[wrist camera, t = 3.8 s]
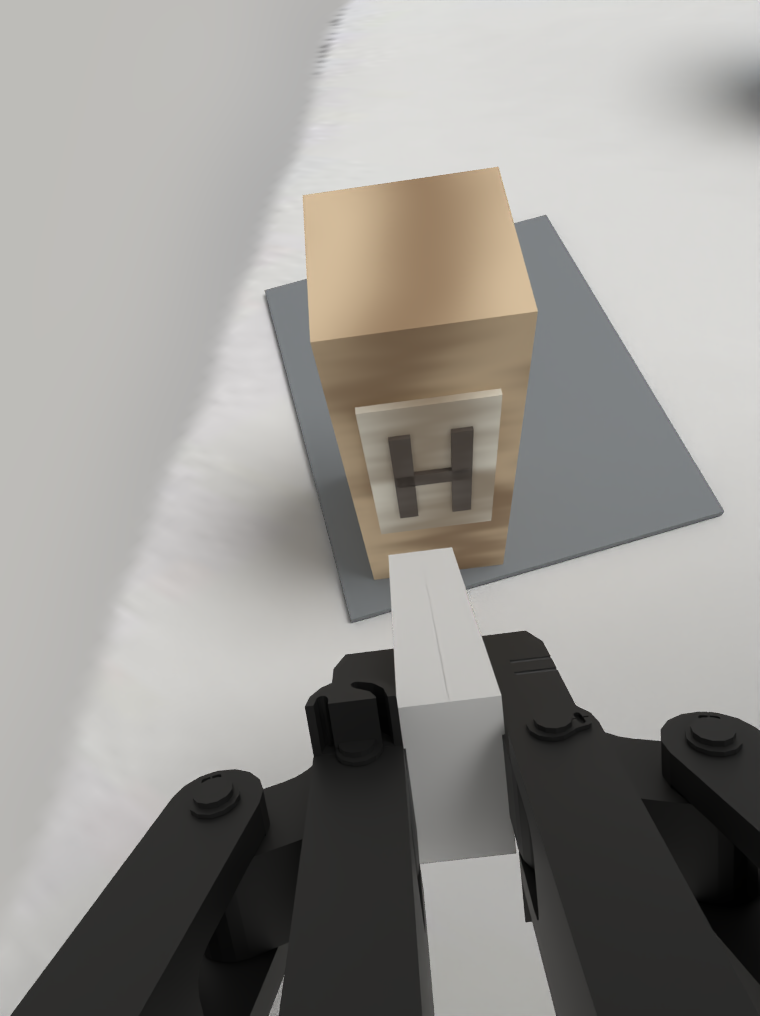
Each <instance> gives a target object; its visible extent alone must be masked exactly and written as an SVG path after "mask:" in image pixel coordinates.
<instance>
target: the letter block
mask: <svg viewBox="0 0 760 1016" xmlns="http://www.w3.org/2000/svg"><path fill="white" fill-rule="evenodd" d="M303 210H304V230H305V250H306V269H307V289H308V309H309V329H310V343H311V347H312V351H313V355H314V358H315V362H316V366H317V369H318V373H319V377H320V381H321V384H322V388H323V392H324V395H325V399H326V403H327V407H328V410H329V414H330V418H331V421H332V425H333V429H334V433H335V436H336V440H337V444H338V447H339V451H340V455H341V458H342V462H343V466H344V470H345V473H346V477H347V481H348V484H349V488H350V492H351V496H352V499H353V503H354V507H355V510H356V514H357V518H358V522H359V525H360V529H361V533H362V536H363V540H364V544H365V548H366V551H367V555H368V559H369V562H370V566H371V570H372V573H373V577H374V580H378V579H386V578H390V574H389V557H388V555H393V554H401V553H409V552H417V551H425V550H433V549H441V548H449V547H452V549H453V552H454V555H455V558H456V561H457V564H458V567H459V570H460V569H469V568H477V567H485V566H493V565H502V564H503V562H504V555H505V547H506V540H507V533H508V525H509V518H510V511H511V504H512V496H513V489H514V482H515V474H516V467H517V460H518V453H519V445H520V438H521V431H522V424H523V416H524V409H525V402H526V394H527V387H528V380H529V373H530V365H531V358H532V351H533V343H534V336H535V329H536V322H537V314H538V310H537V306H536V302H535V299H534V295H533V291H532V288H531V284H530V280H529V277H528V273H527V270H526V266H525V262H524V259H523V255H522V251H521V248H520V244H519V240H518V237H517V233H516V229H515V226H514V222H513V218H512V215H511V211H510V207H509V204H508V200H507V196H506V193H505V189H504V185H503V182H502V178H501V174H500V171H499V167H494V168H487V169H480V170H473V171H467V172H460V173H453V174H446V175H439V176H432V177H425V178H419V179H412V180H405V181H398V182H391V183H384V184H377V185H371V186H364V187H357V188H350V189H343V190H336V191H329V192H323V193H316V194H309V195H303Z"/></svg>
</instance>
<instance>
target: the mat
mask: <svg viewBox="0 0 760 1016" xmlns="http://www.w3.org/2000/svg"><path fill="white" fill-rule="evenodd" d="M514 226H515V229H516V233H517V237H518V240H519V244H520V248H521V251H522V255H523V259H524V262H525V266H526V270H527V273H528V277H529V280H530V284H531V288H532V291H533V295H534V299H535V302H536V306H537V310H538V314H537V322H536V329H535V336H534V343H533V351H532V358H531V365H530V373H529V380H528V387H527V394H526V402H525V409H524V416H523V424H522V431H521V438H520V445H519V453H518V460H517V467H516V474H515V482H514V489H513V496H512V504H511V511H510V518H509V525H508V533H507V540H506V547H505V555H504V562H503V564H502V565H493V566H485V567H477V568H469V569H460V573H461V576H462V579H463V582H464V585H465V588H466V589H470V588H473V587H477V586H480V585H483V584H487V583H490V582H494V581H497V580H501V579H504V578H508V577H511V576H514V575H518V574H521V573H525V572H528V571H532V570H535V569H538V568H542V567H545V566H549V565H552V564H556V563H559V562H563V561H566V560H569V559H573V558H576V557H580V556H583V555H587V554H590V553H593V552H597V551H600V550H604V549H607V548H611V547H614V546H618V545H621V544H624V543H628V542H631V541H635V540H638V539H642V538H645V537H648V536H652V535H655V534H659V533H662V532H666V531H669V530H673V529H676V528H679V527H683V526H686V525H690V524H693V523H697V522H700V521H704V520H707V519H710V518H714V517H717V516H721V515H722V514H723V512H724V510H723V508H722V507H721V505H720V503H719V502H718V500H717V498H716V497H715V495H714V493H713V492H712V490H711V488H710V487H709V485H708V483H707V482H706V480H705V478H704V477H703V475H702V473H701V472H700V470H699V468H698V467H697V465H696V463H695V462H694V460H693V458H692V457H691V455H690V453H689V452H688V450H687V448H686V447H685V445H684V444H683V442H682V440H681V439H680V437H679V435H678V434H677V432H676V430H675V429H674V427H673V425H672V424H671V422H670V420H669V419H668V417H667V415H666V414H665V412H664V410H663V409H662V407H661V405H660V404H659V402H658V400H657V399H656V397H655V395H654V394H653V392H652V390H651V389H650V387H649V385H648V384H647V382H646V380H645V379H644V377H643V375H642V374H641V372H640V370H639V369H638V367H637V365H636V364H635V362H634V360H633V359H632V357H631V355H630V354H629V352H628V350H627V349H626V347H625V345H624V344H623V342H622V340H621V339H620V337H619V335H618V334H617V332H616V330H615V329H614V327H613V325H612V324H611V322H610V320H609V319H608V317H607V315H606V314H605V312H604V310H603V309H602V307H601V305H600V304H599V302H598V300H597V299H596V297H595V295H594V294H593V292H592V290H591V289H590V287H589V285H588V284H587V282H586V280H585V279H584V277H583V275H582V274H581V272H580V270H579V269H578V267H577V266H576V264H575V262H574V261H573V259H572V257H571V256H570V254H569V252H568V251H567V249H566V247H565V246H564V244H563V242H562V241H561V239H560V237H559V236H558V234H557V232H556V231H555V229H554V227H553V226H552V224H551V222H550V221H549V219H548V217H547V216H546V215H544V216H540V217H536V218H532V219H529V220H525V221H521V222H518V223H514ZM265 293H266V297H267V301H268V304H269V308H270V312H271V316H272V320H273V324H274V327H275V331H276V335H277V339H278V343H279V347H280V350H281V354H282V358H283V362H284V366H285V370H286V373H287V377H288V381H289V385H290V389H291V393H292V397H293V400H294V404H295V408H296V412H297V416H298V420H299V423H300V427H301V431H302V435H303V439H304V443H305V446H306V450H307V454H308V458H309V462H310V466H311V469H312V473H313V477H314V481H315V485H316V489H317V493H318V496H319V500H320V504H321V508H322V512H323V516H324V519H325V523H326V527H327V531H328V535H329V539H330V542H331V546H332V550H333V554H334V558H335V562H336V565H337V569H338V573H339V577H340V581H341V585H342V588H343V592H344V596H345V600H346V604H347V608H348V612H349V615H350V619H351V622H352V623H353V622H356V621H360V620H363V619H367V618H370V617H373V616H377V615H380V614H384V613H387V612H391V611H392V610H391V592H390V578H386V579H378V580H374V577H373V573H372V570H371V566H370V562H369V559H368V555H367V551H366V548H365V544H364V540H363V536H362V533H361V529H360V525H359V522H358V518H357V514H356V510H355V507H354V503H353V499H352V496H351V492H350V488H349V484H348V481H347V477H346V473H345V470H344V466H343V462H342V458H341V455H340V451H339V447H338V444H337V440H336V436H335V433H334V429H333V425H332V421H331V418H330V414H329V410H328V407H327V403H326V399H325V395H324V392H323V388H322V384H321V381H320V377H319V373H318V369H317V366H316V362H315V358H314V355H313V351H312V347H311V343H310V329H309V309H308V289H307V279H305V280H301V281H297V282H294V283H290V284H286V285H283V286H279V287H275V288H271V289H268V290H265Z"/></svg>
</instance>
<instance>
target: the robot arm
mask: <svg viewBox="0 0 760 1016" xmlns="http://www.w3.org/2000/svg"><path fill="white" fill-rule="evenodd" d="M388 557H389V574H390V592H391V610H392V628H393V645H394V649H388V650H379V651H371V652H363V653H355V654H347V655H345V656H344V657H343V658H342V660H341V661H340V662H339V663H338V664H337V666H336V667H335V668H334V671H333V679H332V683H331V684H329V685H327V686H324V687H322V688H320V689H319V690H318V691H317V692H315V693H314V694H313V695H312V696H310V698H309V700H308V702H307V704H306V705H305V710H306V715H307V721H308V727H309V732H310V738H311V743H312V749H313V754H314V758H313V766H311V767H310V768H309V769H308V770H307V771H305V772H303V773H302V774H300V775H299V776H297V777H295V778H292V779H290V780H288V781H285V782H283V783H280V784H277V785H274V786H271V787H268V788H265V789H263V788H262V785H261V782H260V779H259V778H257V777H256V776H254V775H253V774H252V773H250V772H246V771H241V770H236V769H234V770H223V771H217V772H213V773H210V774H207V775H204V776H201V777H199V778H197V779H196V780H194V781H192V782H191V783H189V784H187V785H186V786H184V787H183V788H182V789H181V790H180V791H179V792H178V793H177V794H176V795H175V796H174V797H173V798H172V799H171V800H170V802H169V803H168V805H167V806H166V807H165V809H164V810H163V811H162V813H161V814H160V815H159V817H158V818H157V819H156V821H155V822H154V823H153V825H152V826H151V827H150V829H149V830H148V831H147V833H146V834H145V835H144V837H143V838H142V839H141V841H140V842H139V843H138V845H137V846H136V848H135V849H134V850H133V852H132V853H131V854H130V856H129V857H128V858H127V860H126V861H125V862H124V864H123V865H122V866H121V868H120V869H119V870H118V872H117V873H116V874H115V876H114V877H113V878H112V880H111V881H110V882H109V884H108V885H107V887H106V888H105V889H104V891H103V892H102V893H101V895H100V896H99V897H98V899H97V900H96V901H95V903H94V904H93V905H92V907H91V908H90V909H89V911H88V912H87V913H86V915H85V916H84V917H83V919H82V920H81V921H80V923H79V924H78V925H77V927H76V928H75V930H74V931H73V932H72V934H71V935H70V936H69V938H68V939H67V940H66V942H65V943H64V944H63V946H62V947H61V948H60V950H59V951H58V952H57V954H56V955H55V956H54V958H53V959H52V960H51V962H50V963H49V964H48V966H47V967H46V969H45V970H44V971H43V973H42V974H41V975H40V977H39V978H38V979H37V981H36V982H35V983H34V985H33V986H32V987H31V989H30V990H29V991H28V993H27V994H26V995H25V997H24V998H23V999H22V1001H21V1002H20V1003H19V1005H18V1006H17V1007H16V1009H15V1010H14V1012H13V1013H12V1014H11V1016H268V1015H269V1013H270V1010H271V1008H272V1005H273V1002H274V1000H275V997H276V995H277V992H278V990H279V987H280V984H281V982H282V979H283V977H284V982H283V989H282V996H281V1004H280V1011H279V1016H434V1005H433V993H432V982H431V970H430V959H429V948H428V936H427V925H426V914H425V902H424V891H423V884H422V877H421V870H420V864H425V863H433V862H442V861H451V860H460V859H469V858H478V857H487V856H495V855H504V854H513V853H516V846H515V838H516V841H517V845H518V849H519V857H520V868H521V879H522V890H523V901H524V912H525V922H532V923H533V926H534V930H535V934H536V938H537V942H538V946H539V950H540V954H541V958H542V962H543V965H544V969H545V973H546V977H547V981H548V985H549V989H550V993H551V997H552V1001H553V1005H554V1008H555V1012H556V1016H760V730H758V729H757V728H755V727H754V726H752V725H750V724H748V723H746V722H744V721H742V720H740V719H738V718H734V717H731V716H727V715H723V714H720V713H713V712H694V713H687V714H681V715H679V716H676V717H674V718H672V719H670V720H668V721H667V722H666V723H665V725H664V726H663V727H662V729H661V741H653V740H641V739H631V738H625V737H619V736H615V735H612V734H609V733H605V732H604V730H603V728H602V727H601V725H600V723H599V721H598V720H597V719H596V718H595V717H594V716H593V715H592V714H591V713H590V712H588V711H586V710H584V709H582V708H580V707H578V706H576V705H575V703H574V701H573V699H572V697H571V695H570V693H569V691H568V689H567V688H566V686H565V684H564V682H563V680H562V678H561V676H560V674H559V672H558V670H556V666H555V664H554V662H553V660H552V658H550V655H549V653H548V651H547V649H546V647H545V645H544V643H543V641H541V640H540V639H538V638H536V637H535V636H533V635H532V634H530V633H529V632H527V631H520V632H511V633H503V634H495V635H487V636H481V633H480V630H479V627H478V624H477V621H476V618H475V615H474V612H473V609H472V606H471V603H470V600H469V597H468V594H467V591H466V588H465V585H464V582H463V579H462V576H461V573H460V570H459V567H458V564H457V561H456V558H455V555H454V552H453V549H452V547H449V548H441V549H433V550H425V551H417V552H409V553H401V554H393V555H388ZM514 834H515V836H514Z"/></svg>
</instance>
